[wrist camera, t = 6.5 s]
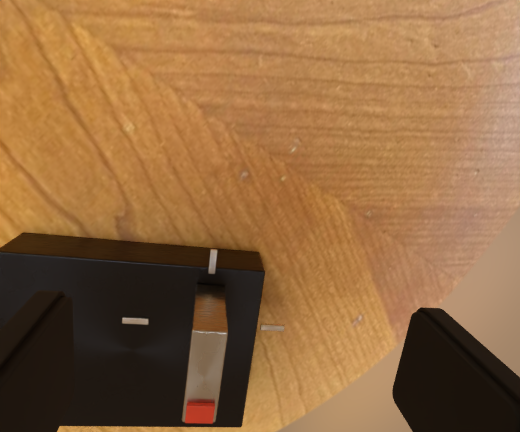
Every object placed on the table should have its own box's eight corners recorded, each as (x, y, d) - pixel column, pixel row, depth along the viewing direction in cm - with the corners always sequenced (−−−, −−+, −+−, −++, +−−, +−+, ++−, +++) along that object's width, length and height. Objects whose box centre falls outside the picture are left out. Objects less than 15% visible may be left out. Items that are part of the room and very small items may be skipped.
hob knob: (196, 283, 20) (191, 333, 16) (225, 285, 21) (228, 335, 16) (187, 360, 22) (181, 426, 17) (215, 361, 22) (215, 427, 17)
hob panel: (286, 237, 23) (296, 256, 20) (260, 393, 27) (266, 430, 24) (21, 214, 21) (-11, 231, 18) (28, 388, 24) (2, 428, 21)
